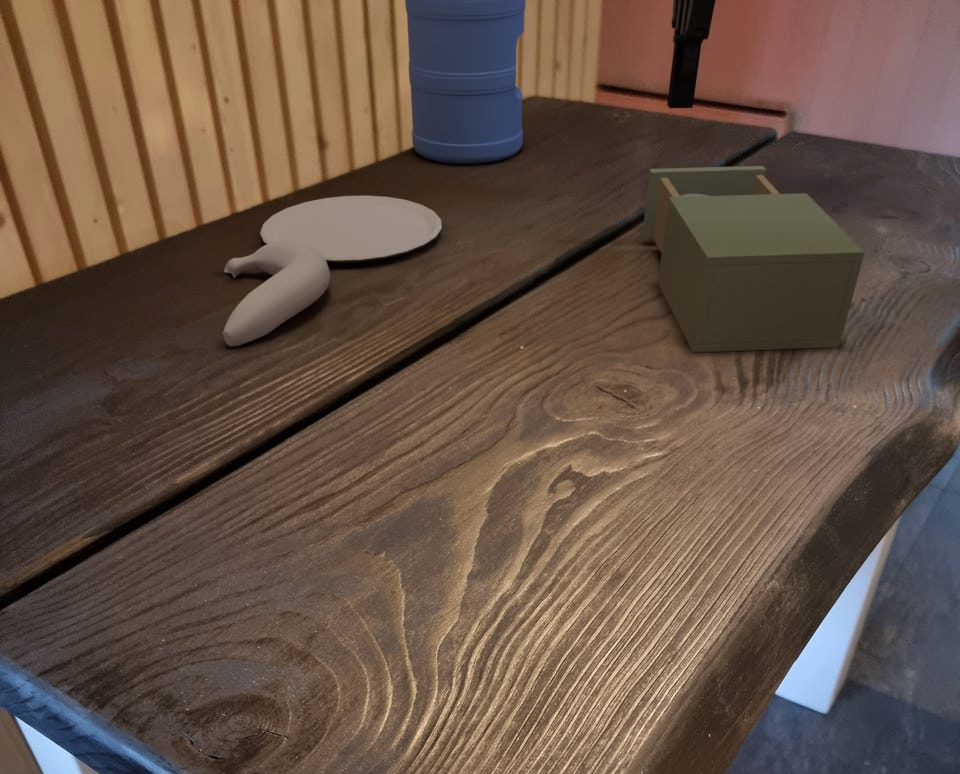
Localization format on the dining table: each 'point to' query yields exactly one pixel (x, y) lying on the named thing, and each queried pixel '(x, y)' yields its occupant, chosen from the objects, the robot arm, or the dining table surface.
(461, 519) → the dining table surface
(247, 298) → the banana
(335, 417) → the dining table surface
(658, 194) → the drawer
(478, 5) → the water jug
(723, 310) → the cabinet
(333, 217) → the plate
